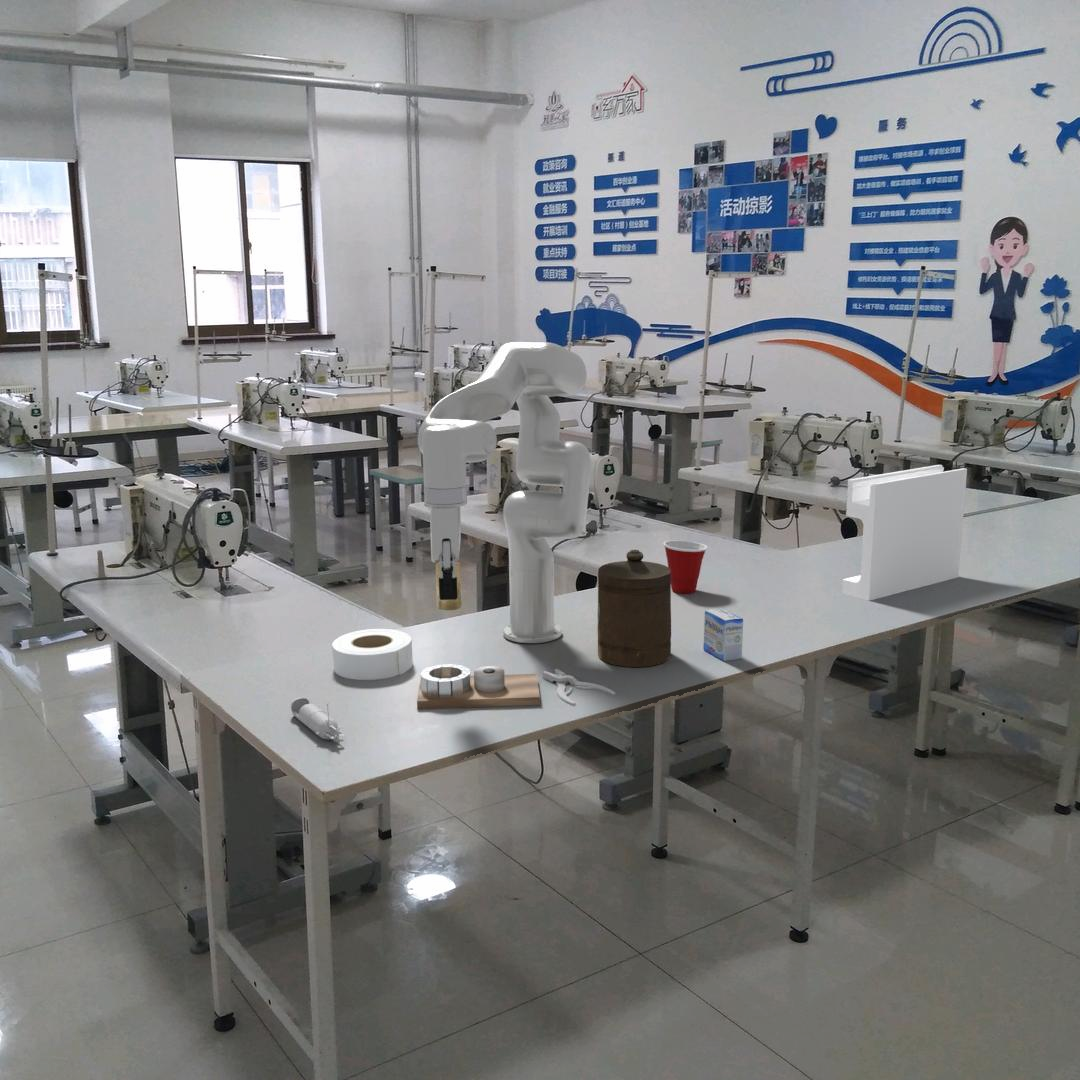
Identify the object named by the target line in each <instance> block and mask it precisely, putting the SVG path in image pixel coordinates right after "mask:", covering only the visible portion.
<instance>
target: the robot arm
mask: <svg viewBox="0 0 1080 1080" xmlns="http://www.w3.org/2000/svg"><path fill="white" fill-rule="evenodd" d="M587 374H588V373H587V367H586V365H585V362H584V360H583V359H582V358H581V356H579V354H577V353H576V352H573V351H571V350H569V349H567V348H566V347H563V346H562V345H559V344H557V343H554V342H548V341H547V342H545V341H542V342H541V341H540V342H539V341H538V342H537V341H536V342H535V341H530V342H529V341H512V342H506V343H504V344H502V345H501V346H500V347H499V348H497V350H496V351H495V353H494V354H493V356H492V357H491V358H490V360H489V362H488V363H487V365H485V368H483V370H482V372H481V373H480V374H479V376H478V377H477V378H476V380H475V381H474V382H472V383H469V384H467V385H465V386H463V387H461V388H459V389H458V390H455V391H454V392H452V393H450V394H448V395H446V396H445V397H443V398H441V399H440V400H439V401H438V402H437V403H435V404H434V405H433V406H432V408H431V410H430V411H429V412H428V413H427V415H426V416H425V418H424V420H423V421H422V423H421V425H420V428H419V430H418V435H417V447H418V448H419V451H420V453H421V454H422V466H423V467H422V468H423V469H422V472H423V494H424V495H423V496H424V498H423V501H424V506H426V507H428V508H429V507H430V513H429V515H430V517H429V520H430V522H429V523H430V525H429V526H430V528H429V529H430V555H431V557H430V558H431V559H430V560H431V562H433V563H436V561H439V563H440V578H439V598H440V600H456V599H457V577H455V562H459V560H460V559H459V558H460V552H461V551H460V548H461V538H462V537H461V533H462V530H461V529H462V528H461V527H462V525H461V507H462V506H465V505H467V504H468V491H467V490H468V489H467V463H469V464H470V463H480V462H481V463H482V462H484V461H486V460H488V459H489V458H490V457H492V455H493V453H495V450H496V448H497V443H498V442H497V441H498V440H497V439H498V437H497V434H496V430H495V429H494V428H493V426H491V424H489V423H487V422H486V421H488V420H491V419H495V418H498V417H500V416H503V415H505V414H507V413H508V412H510V410H511V409H512V408H513V407H514V405H515V403H516V405H517V408H518V411H519V418H520V419H519V432H518V433H519V434H518V439H517V440H518V442H517V451H516V460H515V461H516V462H515V470H516V471H515V472H516V476H517V478H518V479H519V481H520V482H522V483H525V484H528V485H529V484H530V485H536V486H537V485H538V486H549V487H551V486H552V487H562V491H563V492H557V491H556V492H555V491H546V490H543V491H542V490H530V489H528V490H525V489H524V490H519V491H515V492H513V493H510V495H508V496H507V498H506V499H505V501H504V504H503V509H502V510H503V521H504V525H505V531H506V535H507V545H508V571H509V572H508V573H509V574H508V575H509V577H508V578H509V579H508V581H509V582H508V583H509V618H510V619H509V624H508V625H507V626H505V627H504V628H503V632H502V633H503V637H504V638H506V639H507V640H509V641H512V642H515V643H521V644H522V643H523V644H542V643H548V642H552V641H554V640H557V639H559V638H560V637H561V636H562V627H561V626H559V625H558V624H555V579H554V578H555V577H554V576H555V573H554V572H555V570H554V569H555V567H554V566H555V565H554V563H555V561H554V553H553V551H552V548H551V545H550V544H549V543H548V541H547V539H546V538H550V539H551V538H554V539H567V540H571V539H576V538H579V537H580V536H581V534H582V533H583V532H584V529H585V526H586V522H587V521H586V520H587V512H588V504H589V503H588V502H589V493H590V484H591V471H592V460H591V455H590V451H589V449H588V448H587V447H586V445H584V444H583V443H581V442H577V441H571V440H560V431H561V415H560V413H559V411H558V409H557V407H556V406H555V404H554V403H553V401H552V400H551V399H550V397H549V396H558V397H559V396H562V397H574V396H576V395H578V394H580V393H581V392H582V391H583V389H584V387H585V386H586V383H587ZM451 564H452V566H451ZM452 576H453V577H452Z"/></svg>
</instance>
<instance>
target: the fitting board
mask: <svg viewBox="0 0 1080 1080" xmlns="http://www.w3.org/2000/svg"><path fill="white" fill-rule="evenodd" d="M470 681H471V689H470V690H469V691H468V692H466V693H465V694H462V695H458V696H454V697H452V696H451V697H434V696H429V695H426V694H425V693H423V692H422V691H421V678H420V679H419V685H418V692H417V698H416V706H417V710H422V709H423V710H428V709H431V710H432V709H452V708H453V709H455V708H457V709H458V708H459V709H460V708H488V707H489V708H490V707H517V706H520V707H522V706H540V705H541V696H540V689H539V683H538V676H537V673H521V674H520V673H517V674H516V673H515V674H505V669H504V668H502V667H499V666H494V665H486V666H484V665H483V666H480V667H477V668H475V669H474V670H473V675H470Z"/></svg>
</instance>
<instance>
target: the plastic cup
mask: <svg viewBox="0 0 1080 1080" xmlns="http://www.w3.org/2000/svg"><path fill="white" fill-rule="evenodd" d="M663 546H664V549H665V556H666V562H667V567H668V568H669V569H670V571H671V590H672V592H673V593H675V594H679V595H688V594H694V593H695V592H696V590H697V587H698V581H699V580H698V579H699V576H700V573H701V568H702V563H703V558H704V556H705V554H706V551H707V550H708V549H709V546H707V545H706V544H703V543H700V542H697V541H688V540H680V539H678V540H676V539H674V540H667V541H666V540H665V541H664V542H663Z"/></svg>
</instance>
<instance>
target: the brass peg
mask: <svg viewBox="0 0 1080 1080" xmlns="http://www.w3.org/2000/svg"><path fill="white" fill-rule="evenodd" d="M439 562H440V561H439ZM439 562H435V583H436V586H435V587H436V608H437V609H438V610H441V611H455V610H459V609H461V608H462V581H461V577H462V576H461V575H462V574H461V562H460V561H456V562H455V577H457V599H456V600H440V598H439V578H440V563H439ZM451 566H452V564H451ZM452 577H453V576H452Z"/></svg>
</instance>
